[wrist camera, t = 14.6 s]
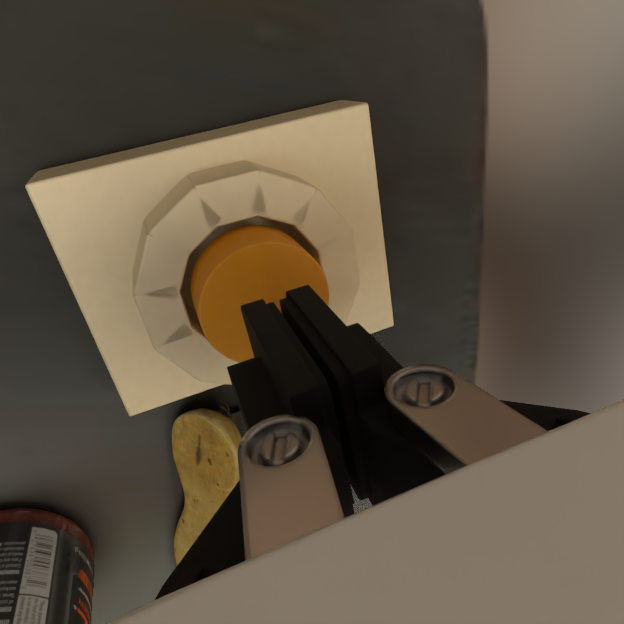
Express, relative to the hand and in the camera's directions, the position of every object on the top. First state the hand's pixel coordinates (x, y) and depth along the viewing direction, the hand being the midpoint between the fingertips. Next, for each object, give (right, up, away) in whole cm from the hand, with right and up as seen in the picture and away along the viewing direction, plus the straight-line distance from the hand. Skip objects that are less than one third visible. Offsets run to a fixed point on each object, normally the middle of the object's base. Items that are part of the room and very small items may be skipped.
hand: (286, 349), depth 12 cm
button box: (-2, +3, +6) cm, 7 cm away
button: (-1, +2, +3) cm, 4 cm away
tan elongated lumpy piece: (-4, -8, +11) cm, 14 cm away
